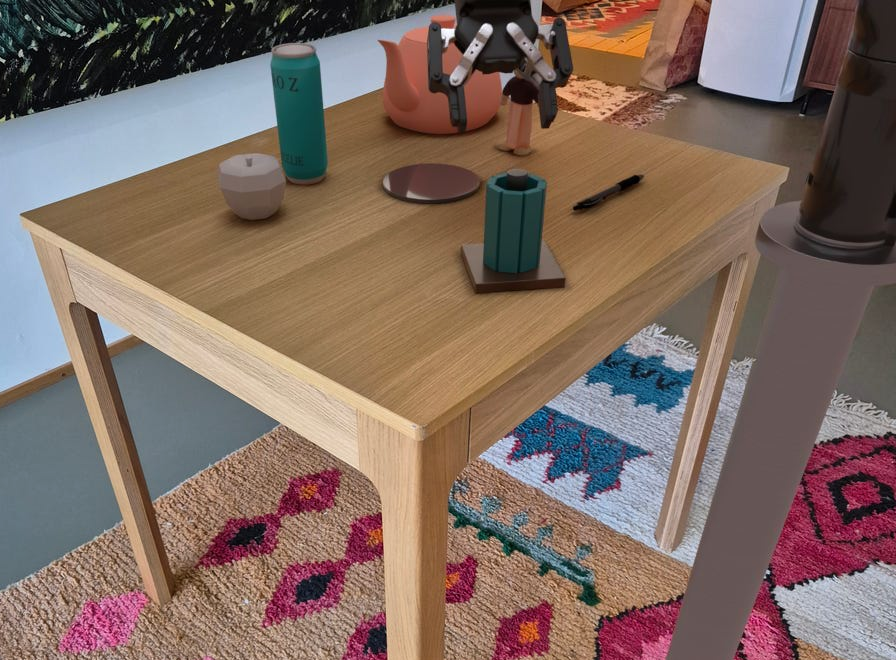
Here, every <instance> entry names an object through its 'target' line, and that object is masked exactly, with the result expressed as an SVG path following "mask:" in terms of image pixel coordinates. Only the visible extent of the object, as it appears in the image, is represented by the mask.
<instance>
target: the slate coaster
mask: <svg viewBox="0 0 896 660" xmlns="http://www.w3.org/2000/svg"><path fill="white" fill-rule="evenodd" d="M480 183H481V182H480V177H479V176H478V174H476V173H475V172H473V171H472V170H470V169H468V168H465V167H463V166H458V165H454V164H447V163H436V162H435V163H433V162H431V163H429V162H428V163H417V164H416V163H415V164H410V165H406V166H402V167H398V168H396V169H394V170H391V171H390V172H388V173H387V174H386V175H385V176H384V177H383V179H382V188H383V190H384V191H385V193H386V194H388V195H389V196H390V197H392V198H395V199H397V200H401V201H404V202H410V203H416V204H443V203H444V204H445V203H446V204H447V203H451V202H457V201H461V200H463V199H466V198H469V197H470V196H473V194H475V193H476V192H477V191H478V190H479V188H480Z"/></svg>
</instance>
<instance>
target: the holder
mask: <svg viewBox="0 0 896 660" xmlns="http://www.w3.org/2000/svg"><path fill="white" fill-rule="evenodd" d="M506 172H507V179H506V190H509V191H522V192H523V191H527V180H528V173H529V172H528V171H527V170H525V169H523V168H511V169H508V170H507V171H506ZM483 251H484V242H483V243H467V244H460V255H461V258H462V260H463V262H464V265H465V268H466V271H467V274H468V276H469V279H470V282H471V284H472V287H473V290H474V292H475V294H478V293H479V294H480V293H495V292H507V291H509V292H510V291H522V290H524V291H525V290H536V289H554V288H565V287H566V279H567V278H566V276H565V274H564V272H563V270H562V269H561V267H560V265H559V264H558V262H557V260H556V258H555V256H554V254H553V253H552V251H551V249H550V247H549V246H548V243H547V242H546V240H545V239H542V243H541V254H540V261H539V264H538V267H536V268H535V269H532V270H529V271H526V272H522V273H520V272H519V271H518V272H517V273H508V272H499V271H498V270H496V271H494V270H493V269H491V268H490V267H488V266H487V265H485V264H484V262H483Z"/></svg>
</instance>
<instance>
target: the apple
mask: <svg viewBox="0 0 896 660" xmlns="http://www.w3.org/2000/svg"><path fill="white" fill-rule="evenodd" d="M217 182H218V185H219V188H220V191H221V193H222V195H223V197H224V200H225V202H226V205H228V207H229V208H230V209H231V210H232V212H233V213H234V214H236V216H238V217H239V218H241V219H244V220H245V219H246V220H249V221H255V220H264V219H267V218H269V217H271V216H272V215H274V214H275V213H276V212H278V210H279V209H280V207H281V205H282V202H283V201H284V198H285V194H286V193H285V192H286V185H287V184H286V183H287V180H286V177H285V173H284V171H283V168H282V166H281V165H280V162H279V160H278V158H277V157H275V156H274V155H269V154H264V153H258V152H253V153H252V152H251V153H244V154H236V155H233V156H231V157H229V158H227V159H225V160H223V161H221V162H220V163H219V164H218V171H217Z"/></svg>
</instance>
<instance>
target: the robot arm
mask: <svg viewBox="0 0 896 660" xmlns="http://www.w3.org/2000/svg"><path fill="white" fill-rule="evenodd" d="M531 1H532V0H454V8H455V17H456V20H455V21H456V25H455V26H456V28H455V29H450V28H441V25H440V24H439V23H437V22H432V23H431V22H430V23H429V25H428V26H429V31H428V38H427V62H428V89H429V91H430V92H431V93H438V92H440V93H443V94H445V95H446V96H447V98H448V104H449V114H450V123H451V125H452V127H457V131H458V133H457V134H459V133H466V131H465V130H466V127H467V113H466V103H465V93H464V86H465V84H467V83H468V82H469V80H470V79H471V77H472V75H473V74H474V72H475V71H476V70H478V71H480V72H482V74H492V73H495V72H499V73H501V74H514V70H517V71H518V72H519V74H520V75H521V76H522V77H523V78H524V79H525V80H526V81H530V82H531V83H532V84H533V85H534V86H535V87H536V88H537V89H538V90H539V93H538V104H539V107H538V112H539V120H540V121H539V123H540V128H541V129H542V130H545V129H550V127H551V125H552V123H554V121H555V120H556V117H557V115H558V111H559V109H558V107H559V106H558V97H557V89H558V88H559V89H560V88H561V89H563V88H565V87H566V86H567V85H568V83H569V79H570V77H571V76H572V74H573V72H574V65H573V60H572V59H573V58H572V53H571V47H570V42H569V41H570V40H569V35H568V30H567V24H566V20H565V19H564V18H563V17H556V18H554V20H553V22H552V23H545V24H538V23H537V22H536V21H535V19H534V17H533V13H532V12H533V11H532V2H531ZM853 18H854V19H853V24H852V27H851V28H852V29H851V33H850V36H849V40H848V43H847V47H846V50H845V54H844V57H843V61H842V64H841V68H840V70H839V74H838V77H837V80H836V85H835V87H834V92H833V95H832V98H831V100H830V101H831V102H830V105H829V108H828V112H827V114H826V118H825V122H824V125H823V128H822V132H821V135H820V138H819V142H818V145H817V147H816V148H817V149H816V151H815V155H814V159H813V163H812V165H811V167H810V169H809V172H808V173H807V175H806V179H805V183H804V185H805V189H804V192H803V195H802V198H801V201H802V202H801V204H800V207H799V212H798V214H797V216H796V219H795V222H794V226H795V228H796V230H797V231H798V232H799V233H800V234H802V235H803V236H805V237H807V238H808V239H811V240H813V241H815V242H818V243H821V244H824V245H828V246H833V247H838V248H845V249H871V248H877V247H880V246H894V245H895V243H896V0H857V2H856V5H855V10H854V17H853ZM537 40H539V41H541V42H542V43H543V46H544V48H545V49H546V50H547V51H548V50H549V53H550V59H551V65H552V67H551V66H550V65H549V64H548V63H547V61H545V59H544V56H543V54H542V52H541V51H540V50H539V48H538V47H537V46H536V45H535V43H536V42H537ZM451 43H454V44H455V46H456V47H457V49H458V50H459V51H460V52H461V53H462V54H463V56H462V58H461V60H460V62H459V64H458V65H457V67H456V68H455V70H454V71H453V73H452V74H451V75H448V74H445V73H443V66H442V54H443V53H445V52H446V51H447V50H448V46H449V44H451ZM525 58H527V61H528V62H527V61H526V60H525Z"/></svg>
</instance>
